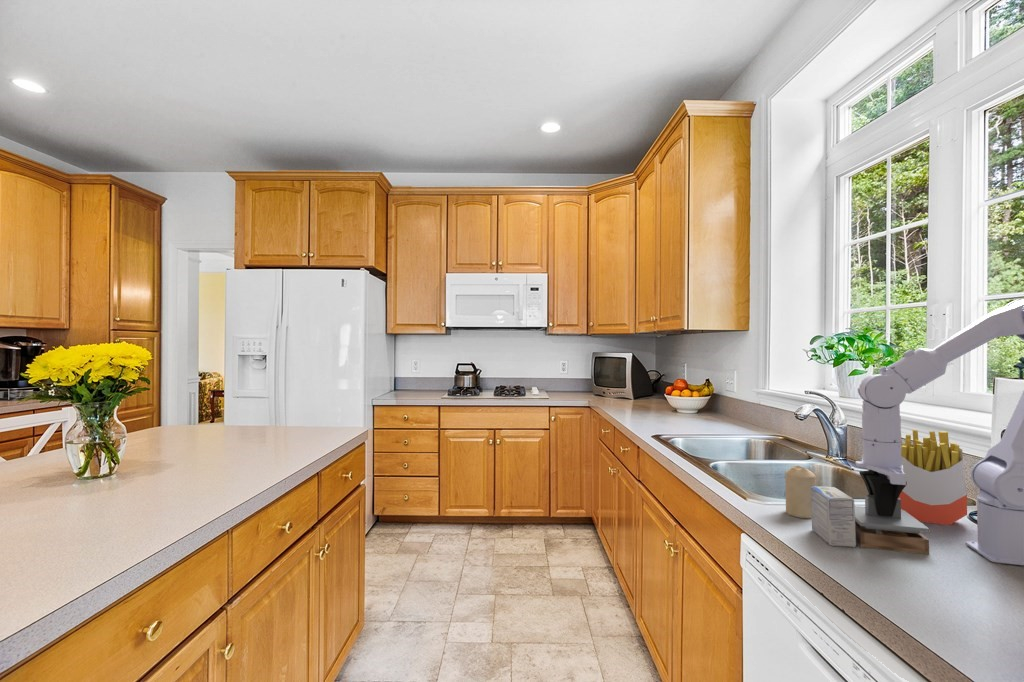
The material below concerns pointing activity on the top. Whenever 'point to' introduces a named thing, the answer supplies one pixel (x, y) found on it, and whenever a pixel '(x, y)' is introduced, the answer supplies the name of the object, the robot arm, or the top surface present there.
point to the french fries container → (933, 479)
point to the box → (891, 540)
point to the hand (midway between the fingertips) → (882, 513)
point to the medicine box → (833, 516)
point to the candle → (799, 491)
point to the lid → (887, 518)
